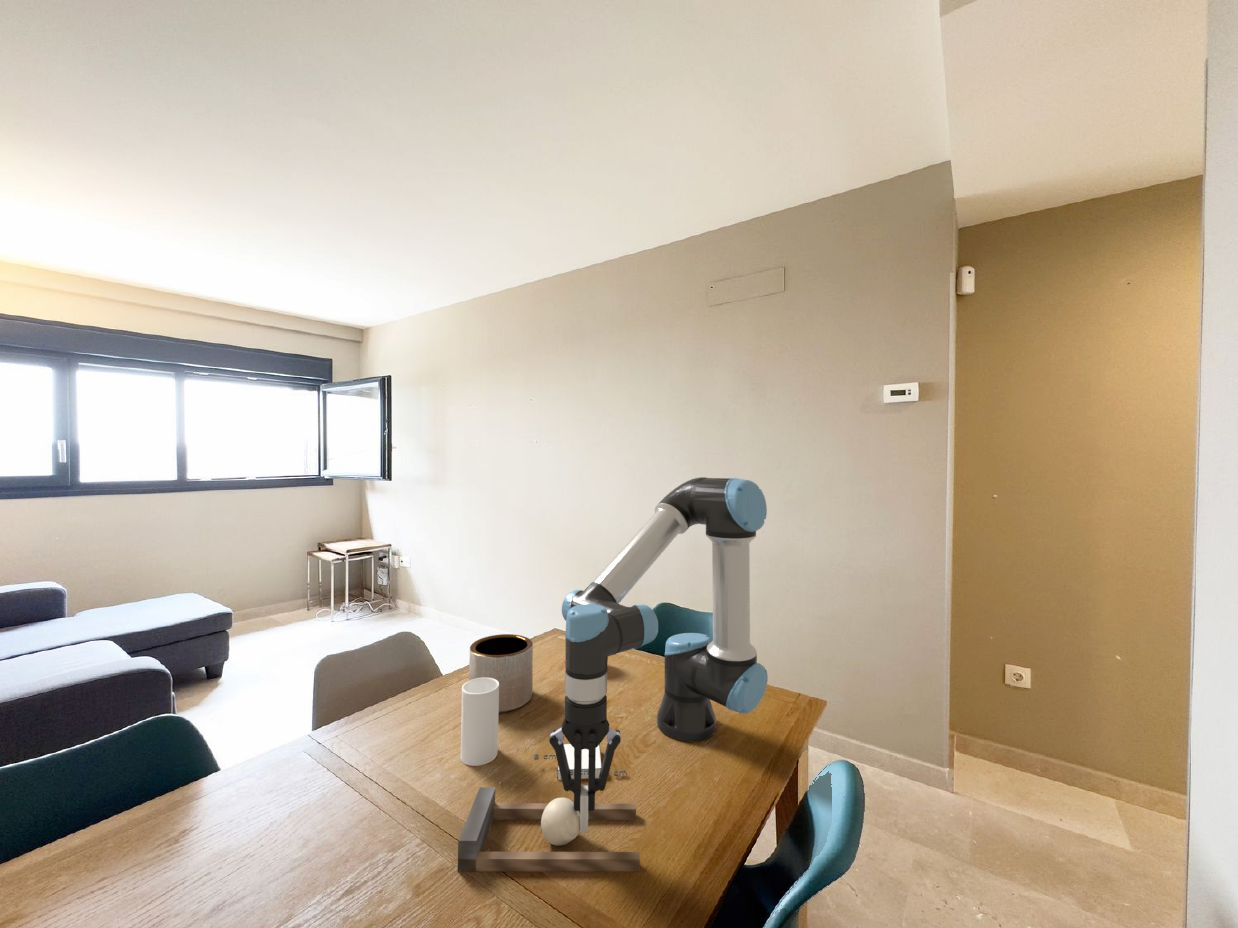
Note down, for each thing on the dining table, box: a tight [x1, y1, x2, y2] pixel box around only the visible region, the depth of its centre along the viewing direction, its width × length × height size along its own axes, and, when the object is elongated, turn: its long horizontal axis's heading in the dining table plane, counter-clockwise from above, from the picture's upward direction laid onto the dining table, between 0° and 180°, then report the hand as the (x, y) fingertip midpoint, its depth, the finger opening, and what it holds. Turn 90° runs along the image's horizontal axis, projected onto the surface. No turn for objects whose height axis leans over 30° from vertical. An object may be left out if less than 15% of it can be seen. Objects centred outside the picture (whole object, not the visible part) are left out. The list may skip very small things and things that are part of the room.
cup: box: [460, 678, 499, 767], centre depth 110 cm, size 8×8×16 cm
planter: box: [468, 633, 534, 714], centre depth 136 cm, size 18×18×16 cm
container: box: [533, 743, 628, 781], centre depth 106 cm, size 20×12×3 cm, turn 96°
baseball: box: [540, 797, 580, 847], centre depth 85 cm, size 7×7×7 cm
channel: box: [457, 786, 641, 872], centre depth 85 cm, size 30×13×5 cm, turn 91°
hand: (584, 826), depth 85 cm, fingers closed
